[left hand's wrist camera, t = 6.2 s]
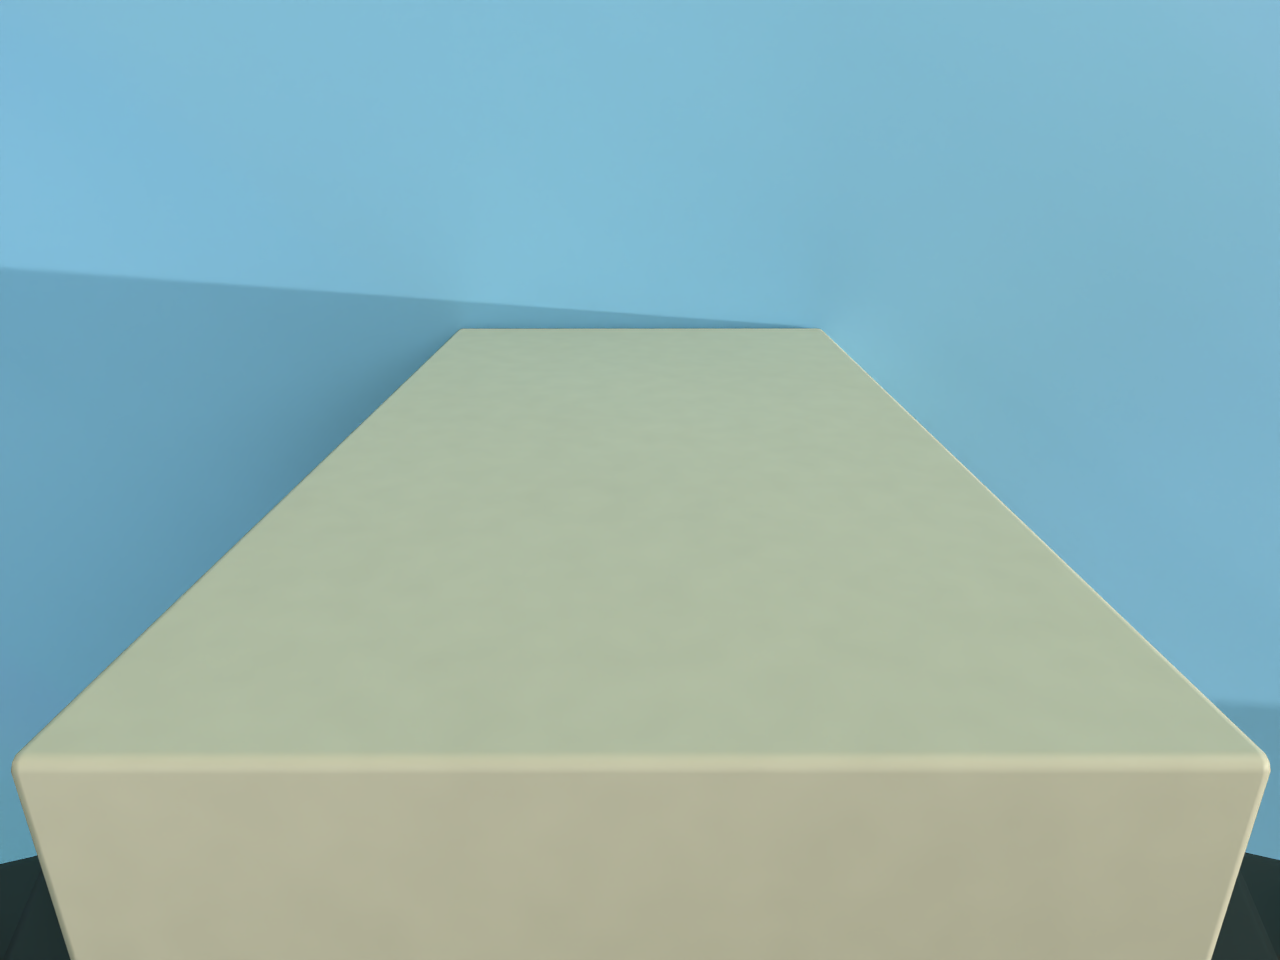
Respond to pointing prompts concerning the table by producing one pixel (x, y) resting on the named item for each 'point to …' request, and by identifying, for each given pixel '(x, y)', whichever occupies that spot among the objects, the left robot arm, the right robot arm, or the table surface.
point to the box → (640, 696)
